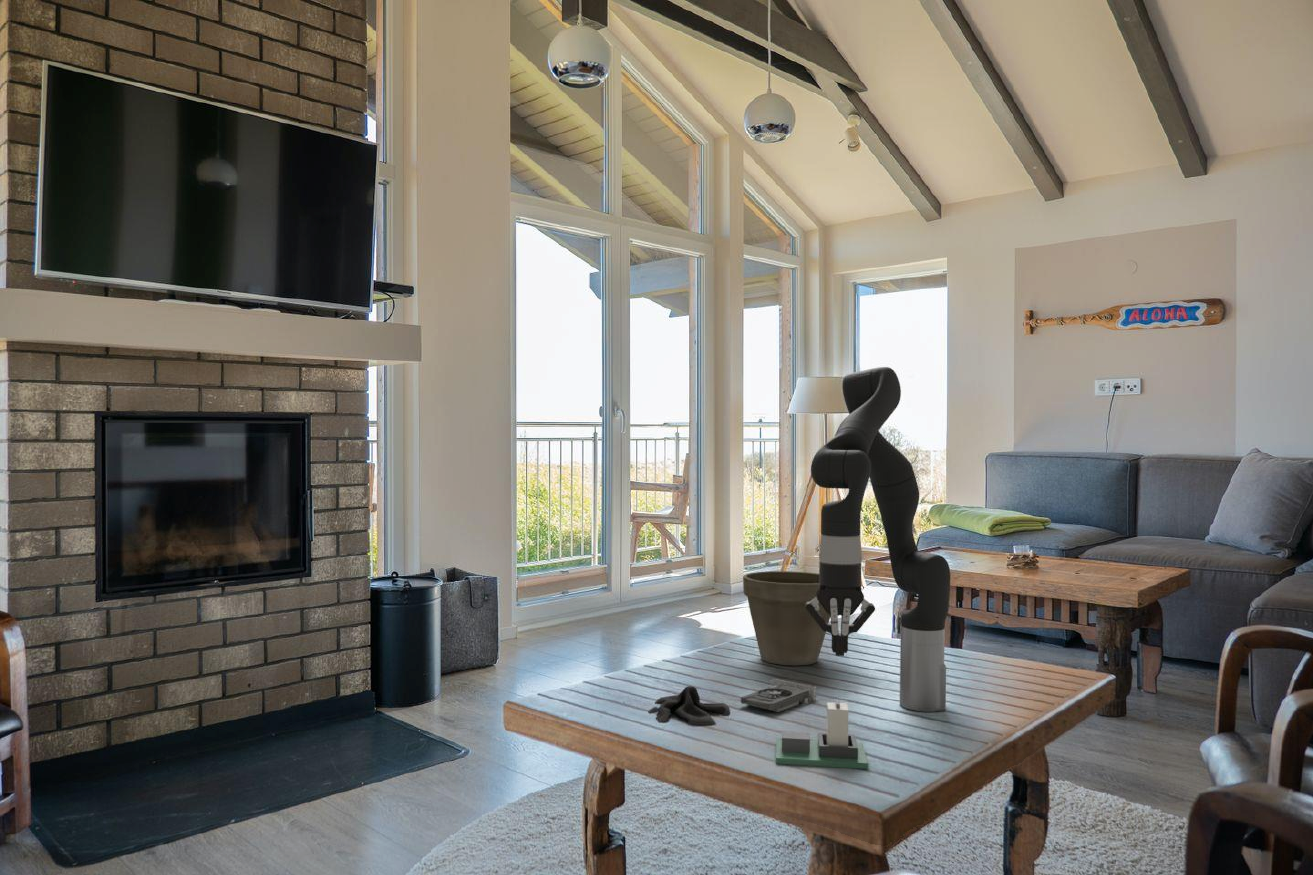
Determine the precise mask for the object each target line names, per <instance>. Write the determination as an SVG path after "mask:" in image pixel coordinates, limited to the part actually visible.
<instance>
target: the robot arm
mask: <svg viewBox="0 0 1313 875" xmlns="http://www.w3.org/2000/svg"><path fill="white" fill-rule="evenodd" d="M841 384H842V386H841V388H842V395H843V400H844V402H845V405H846V408H847V411H848V415H847V416H846V417H845V418H844V419H843V420H842V421H841V422H840V424H839V426H838V428H837V430H836V432H835V434H834V437H832V438H830V440H829V441H827V442H826V443H825V444H823V445H822V446H821V447H820V448H819V449H818V450H817V451H816V453H815V454H814V456H813V458H812V461H811V464H810V475H811V478H812V481H813V482H814V483H815V484H816V485H817V486H818V487H820V488H824V489H841V490H842V489H844V490H845V489H846V490H847V489H848V493H847V495H846V496H845V497H844V498H843V499H840V500H833V501H829V502H826V503H824V504H823V505H822V507H821V510H820V540H819V554H818V560H819V561H818V562H819V563H818V564H819V566H818V568H819V569H818V570H819V571H818V574H819V589H818V591H817V593H816V597H815V598H814V599H813V600H811V601H810V602H806V609H807V610H808V612H809V613H810V614H811V616H812V617H813V618H814V619H815V621H816V622H817V623H818V625H819V626H820V627H821V629H822V630H823V631H825V632H826V633H829V634H830V635H831V650H832V653H835V657H837V656H838V657H844V656H845V654H847V653H848V651H849V650H848V649H849V635H850V634H854V633H857V632H858V631H859V630H860V629H861V628H862V627H863V625H864V624H865V623H866V622H867V620H868V619H869V618H870V617H871V616H872V615H873V613H874V612H875V611H876V607H875V605H874V603H872V602H869V601H868V600H867V599H865V595H864V593H863V590H862V560H863V556H862V554H863V553H862V542H861V513H862V505H863V500H864V497H865V493H866V490H867V486H868V483H869V480H870V484H871V487H872V491H873V496H874V498H875V500H876V505H877V507H878V511H879V514H880V518H881V522H882V526H883V529H884V534H885V540H886V544H887V548H888V549H887V550H888V555H889V560H890V567H891V572H892V575H893V576H892V577H893V579H894V581H895V583H896V585H897V587H898V588H899V589H900V590H902V591H903V592H904V593H909V594H914V595H917V603H916V606H915V607H913V608H911V609H907V610H904V611H903V612H902V613H901V614H900V641H899V642H900V646H899V648H900V649H899V651H900V653H899V656H900V657H899V659H900V660H899V705H900V706H901V707H902V708H905V709H907V710H911V711H916V712H917V711H918V712H928V713H929V712H938V711H939V712H940V711H947V710H946V706H947V702H946V700H947V666H946V664H945V638H946V636H945V635H946V631H945V629H946V628H945V627H946V619H947V617H948V614H949V609H950V593H951V592H950V591H951V568H950V565H949V562H948V561H947V559H946V558H945V557H944V556H943V555H940V554H935V553H932V552H931V553H929V552H921V551H919V550H918V548H917V543H916V541H915V537H914V531H913V524H914V520H915V519H914V518H915V517H916V513H917V510H918V507H919V503H920V501H919V500H920V489H919V484H918V482H917V479H916V475H915V471H914V468H913V466H912V464H911V462H910V461H909V459H908V458H907V457H906V456H905V455H904V454H903V453H902V452H901V451H899V449H897V447H895V446H894V445H893V444H892V443H891V442H890V441H888V440H887V438H885V436H883V434H882V433H881V432H880V429H881V428H882V427H883V425H884V424H885V423H886V421H888V419H889V418H890V417H891V415H893V412H894V411H896V409H897V408H898V406H899V404H900V402H901V397H902V390H901V383H900V379H899V377H898V375H897V373H896V372H895V370H894V369H892V367H888V366H880V367H875V368H869V369H864V370H860V371H855V372H851V373H849V374H846V375H845V376H844V377H843V380H842V383H841ZM819 602H820V604H821V605H822V607H823V608H824V609H825V611H826V612H827V613H828V614H829V615H830V623H827V622H826V621H825V620H824V619H823V617H822V616H821V615H820V613H819V612H818V610H819V605H818V603H819ZM860 605H861V606H860ZM859 607H860V613H859V615H857V617H856V618H855V619H854V620H853V621H852V623H851V624H850V619H851V616H852V615H854V614H855V612H856V611H857V609H858V608H859ZM839 616H840V617H841V618H840V619H841V621H840V622H841V623H840V631H839Z"/></svg>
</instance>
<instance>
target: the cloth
mask: <svg viewBox="0 0 1313 875" xmlns="http://www.w3.org/2000/svg"><path fill="white" fill-rule="evenodd" d="M654 704H655V705H659V707H657V706H654V707H652V708H650V709H649V710H648V711H647V713H648V714H649V715H650V714H655V713H656V715H655V716H657V717H655V718H654V719H655V720H656V721H657V722H658V724H660V723H661V724H666V723H668V722H669V721H670V715H673V716H675V717H676V716H677V717H680V718H682V719H685V720H686V721H687V723H688V726H716V725H717V723H716V721H715V720H714V718H713V717H712V716H711V715H710V714H713V715H720V716H723V717H730V716H731V710H730V707H729V705H727V704H726V703H724V702H721V703H719V702H718V703H712V702H709V703H708V702H707V703H705V702H704V703H703V702H701V699H700V694H699V692H698V689H697V688H696V687H695V686H693V685H689V686H688V685H687V686H686V687H684V689H682V691H681V692H680V693H679V694H676V695H669V696H663V697H660V698H658V699H657V700H655V702H654ZM729 715H730V716H729Z"/></svg>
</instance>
